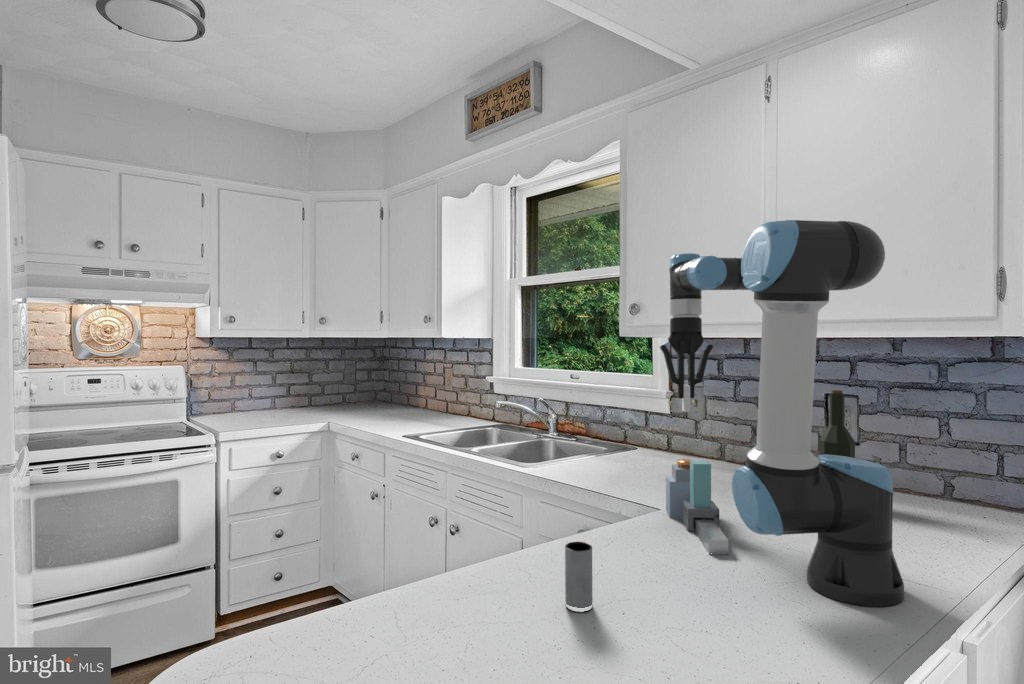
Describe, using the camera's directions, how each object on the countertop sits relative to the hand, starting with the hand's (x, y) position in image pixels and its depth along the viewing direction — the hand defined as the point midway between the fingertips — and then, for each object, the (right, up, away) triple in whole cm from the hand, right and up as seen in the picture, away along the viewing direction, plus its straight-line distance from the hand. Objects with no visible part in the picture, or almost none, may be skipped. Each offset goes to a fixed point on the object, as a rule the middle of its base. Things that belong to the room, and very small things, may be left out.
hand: (686, 411), depth 152 cm
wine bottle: (+43, -26, +10) cm, 51 cm away
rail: (0, -26, -15) cm, 30 cm away
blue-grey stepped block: (0, -26, +1) cm, 26 cm away
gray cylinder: (-32, -28, -49) cm, 65 cm away
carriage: (+1, -26, -9) cm, 28 cm away
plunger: (0, -20, +1) cm, 20 cm away
